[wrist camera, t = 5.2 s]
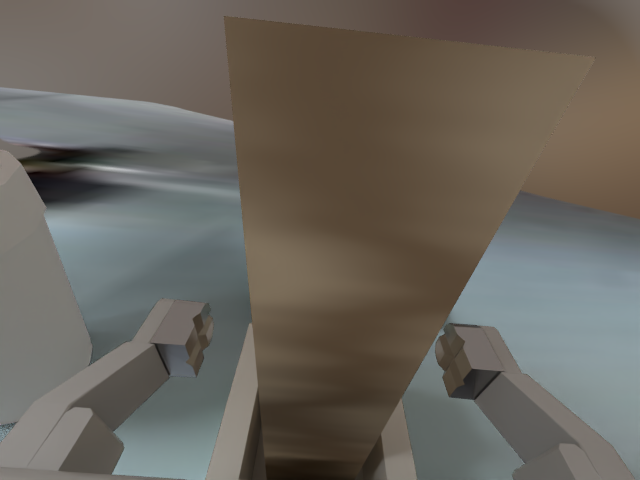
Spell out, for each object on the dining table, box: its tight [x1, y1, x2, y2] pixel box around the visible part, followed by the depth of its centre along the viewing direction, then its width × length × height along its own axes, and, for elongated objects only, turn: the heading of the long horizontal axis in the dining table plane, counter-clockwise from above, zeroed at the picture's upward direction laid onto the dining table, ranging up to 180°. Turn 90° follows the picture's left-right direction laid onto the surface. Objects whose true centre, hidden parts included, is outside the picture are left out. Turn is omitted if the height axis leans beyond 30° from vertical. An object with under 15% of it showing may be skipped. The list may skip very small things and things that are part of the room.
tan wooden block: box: [224, 16, 595, 480], centre depth 10 cm, size 4×4×18 cm
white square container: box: [205, 323, 417, 480], centre depth 14 cm, size 8×8×6 cm
